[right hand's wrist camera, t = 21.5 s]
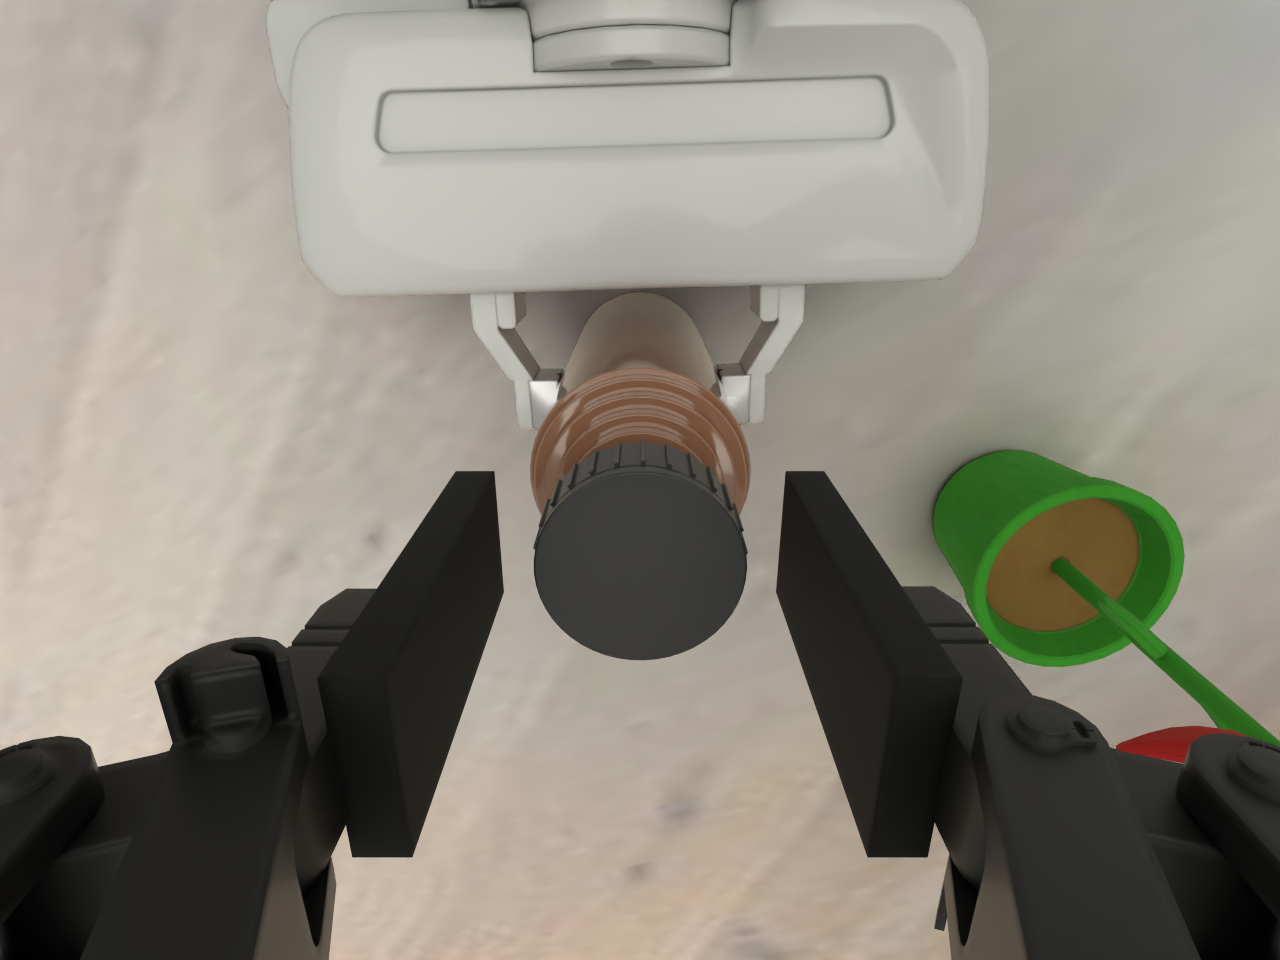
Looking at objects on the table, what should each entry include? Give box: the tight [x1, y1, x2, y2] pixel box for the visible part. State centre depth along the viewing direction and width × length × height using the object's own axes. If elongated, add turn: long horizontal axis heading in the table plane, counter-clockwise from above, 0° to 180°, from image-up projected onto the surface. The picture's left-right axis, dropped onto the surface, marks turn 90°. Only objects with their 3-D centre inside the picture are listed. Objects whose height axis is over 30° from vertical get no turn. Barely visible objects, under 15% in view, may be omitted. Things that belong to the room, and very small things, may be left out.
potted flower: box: [933, 450, 1280, 763], centre depth 22 cm, size 9×8×25 cm
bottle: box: [530, 292, 751, 516], centre depth 22 cm, size 5×5×18 cm
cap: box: [534, 440, 747, 660], centre depth 14 cm, size 4×4×2 cm
